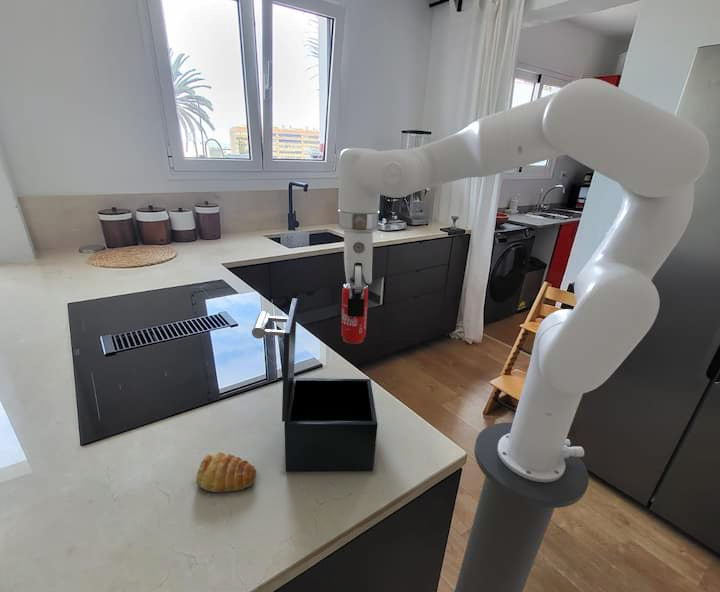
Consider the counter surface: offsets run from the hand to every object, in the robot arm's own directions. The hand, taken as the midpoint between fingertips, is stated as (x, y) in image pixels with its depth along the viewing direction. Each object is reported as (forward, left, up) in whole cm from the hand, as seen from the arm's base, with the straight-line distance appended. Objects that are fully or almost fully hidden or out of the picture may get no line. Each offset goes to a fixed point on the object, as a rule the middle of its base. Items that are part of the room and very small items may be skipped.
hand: (354, 309), depth 80 cm
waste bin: (+4, +15, -22) cm, 27 cm away
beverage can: (0, 0, -7) cm, 7 cm away
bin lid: (+11, +15, -3) cm, 19 cm away
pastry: (+22, +23, -23) cm, 39 cm away
